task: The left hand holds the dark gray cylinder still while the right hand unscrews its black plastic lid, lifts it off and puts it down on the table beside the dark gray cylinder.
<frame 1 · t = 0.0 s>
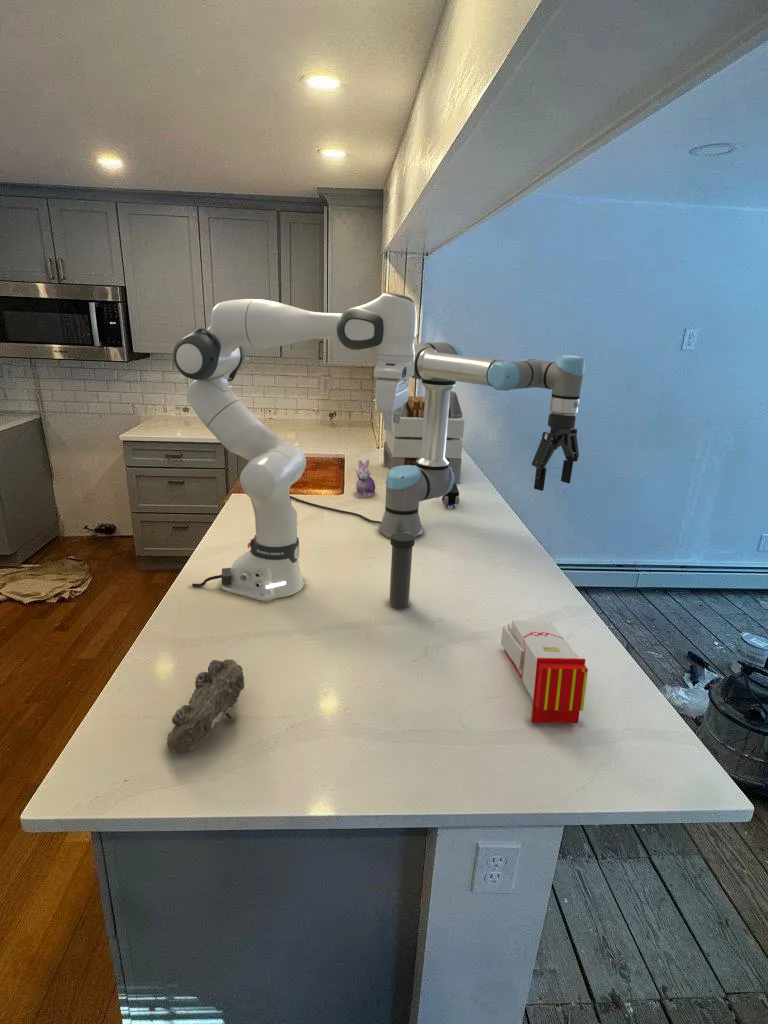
left hand: (392, 426, 137), 48 cm above the counter, tool pointing down, fingers open, 8 cm apart
right hand: (552, 485, 166), 28 cm above the counter, tool pointing down, fingers open, 13 cm apart
lid: (402, 537, 146), point 19 cm above the counter, screwed on, not yet turned
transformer: (419, 473, 275), on the counter
figurine: (365, 495, 240), on the counter
fossil: (212, 717, 108), on the counter
figurine character: (449, 504, 232), on the counter
toy: (534, 680, 123), on the counter
dark gray cylinder: (398, 604, 152), on the counter
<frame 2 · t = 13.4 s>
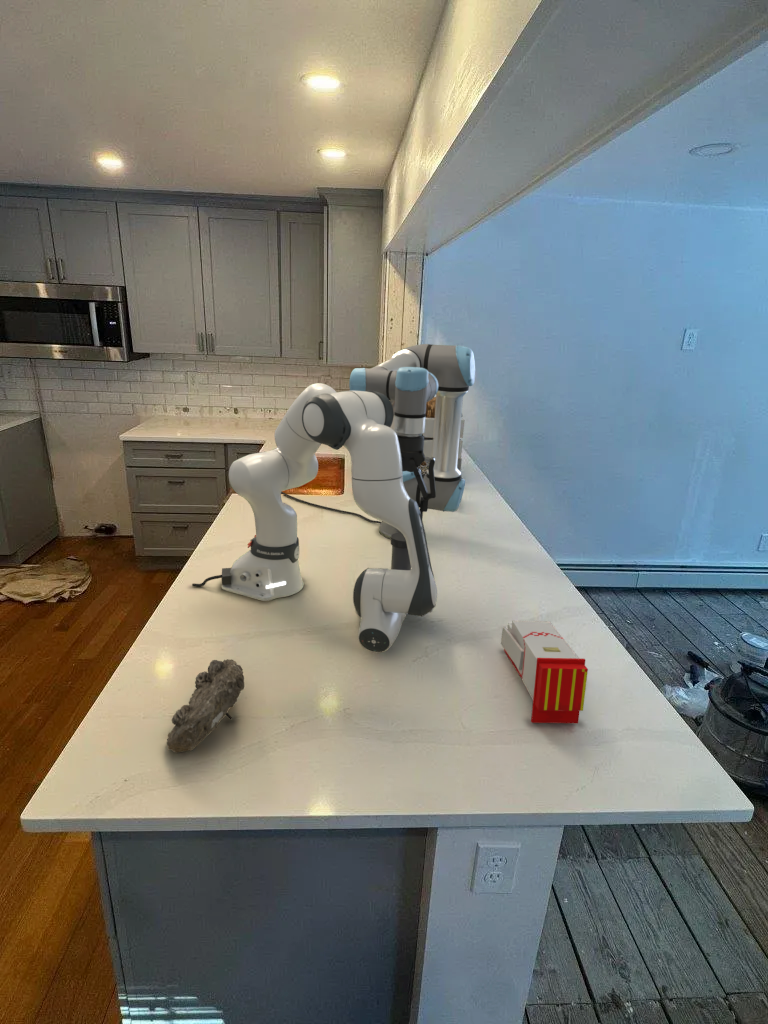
left hand: (400, 582, 151), 6 cm above the counter, tool horizontal, fingers closed on dark gray cylinder, 5 cm apart
right hand: (403, 521, 144), 24 cm above the counter, tool pointing down, fingers open, 8 cm apart
dark gray cylinder: (398, 604, 152), on the counter, touching left hand
everything else where it was.
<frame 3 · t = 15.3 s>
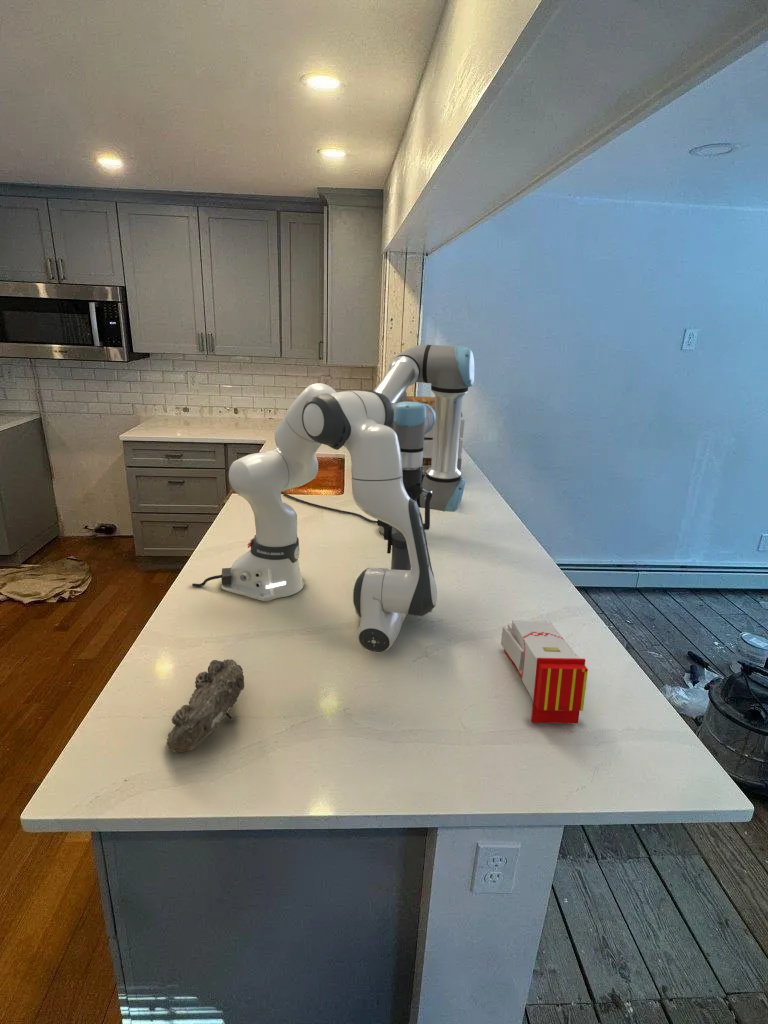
left hand: (400, 582, 151), 6 cm above the counter, tool horizontal, fingers closed on dark gray cylinder, 5 cm apart
right hand: (402, 552, 147), 15 cm above the counter, tool pointing down, fingers closed on lid, 6 cm apart
lid: (402, 537, 146), point 19 cm above the counter, screwed on, not yet turned, touching right hand
dark gray cylinder: (398, 604, 152), on the counter, touching left hand
everything else where it was.
when the right hand's fingers open (16 cm above the counter, at t = 16.9 s): lid stays where it is, point 20 cm above the counter.
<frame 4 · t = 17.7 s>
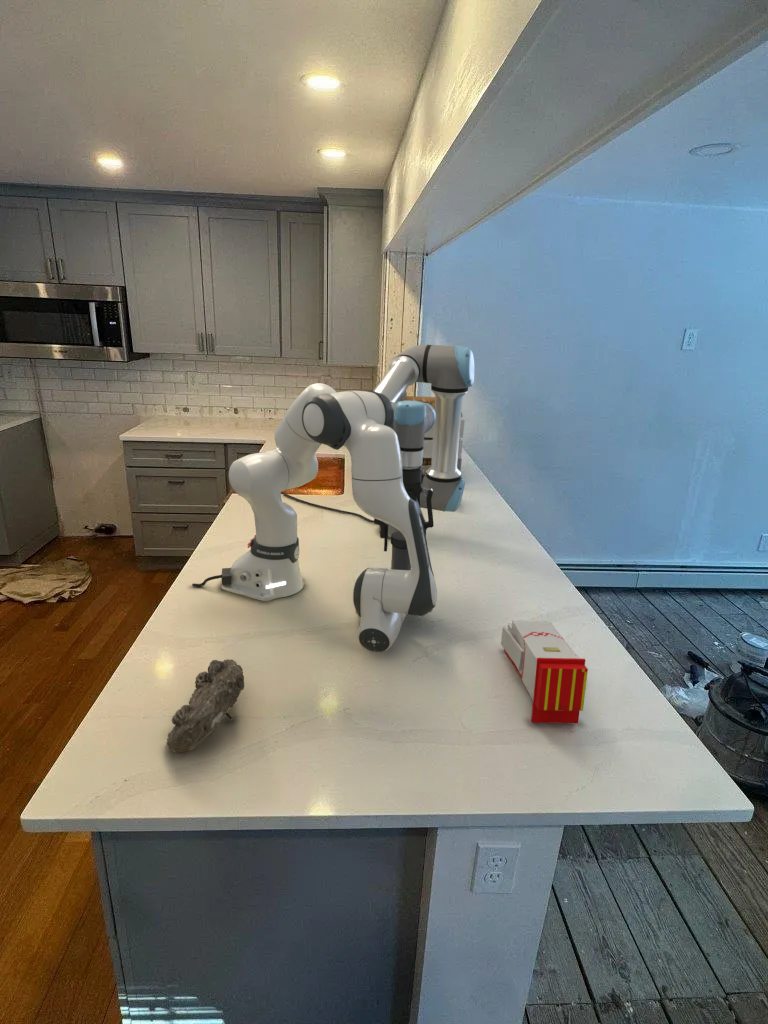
left hand: (400, 582, 151), 6 cm above the counter, tool horizontal, fingers closed on dark gray cylinder, 5 cm apart
right hand: (402, 550, 147), 16 cm above the counter, tool pointing down, fingers open, 8 cm apart
lid: (402, 537, 146), point 20 cm above the counter, turned 99° so far, risen 0.2 cm, still on its thread
dark gray cylinder: (398, 604, 152), on the counter, touching left hand
everything else where it was.
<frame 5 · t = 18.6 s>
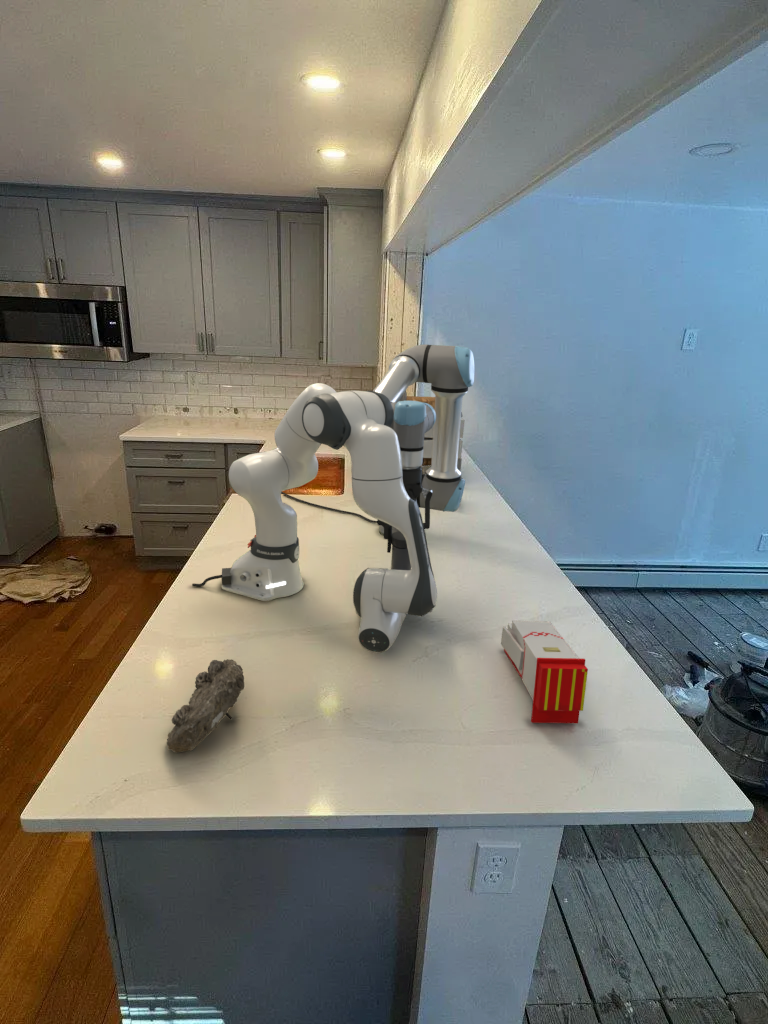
left hand: (400, 582, 151), 6 cm above the counter, tool horizontal, fingers closed on dark gray cylinder, 5 cm apart
right hand: (402, 551, 147), 16 cm above the counter, tool pointing down, fingers closed on lid, 6 cm apart
lid: (402, 537, 146), point 20 cm above the counter, turned 99° so far, risen 0.2 cm, still on its thread, touching right hand
dark gray cylinder: (398, 604, 152), on the counter, touching left hand
everything else where it was.
when the right hand's fingers open (0 cm above the counter, at t = 25.4 s): lid drops 1 cm, point 2 cm above the counter.
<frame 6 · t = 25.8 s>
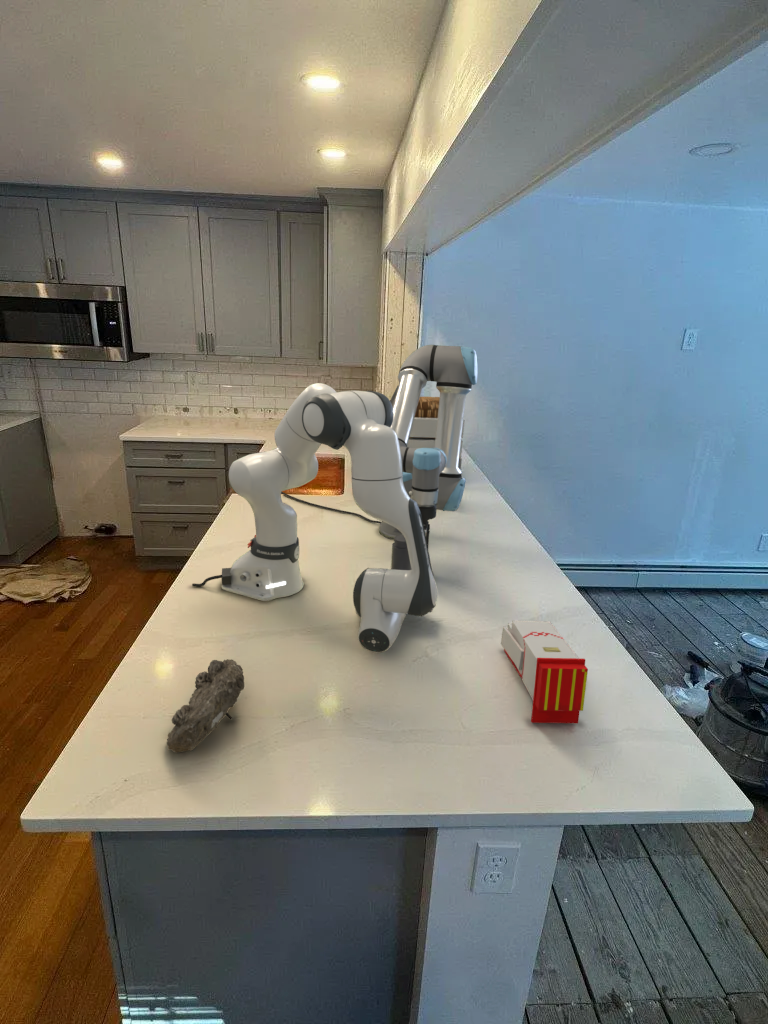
left hand: (400, 582, 151), 6 cm above the counter, tool horizontal, fingers closed on dark gray cylinder, 5 cm apart
right hand: (418, 576, 168), 0 cm above the counter, tool pointing down, fingers open, 8 cm apart
lid: (418, 570, 168), point 2 cm above the counter, off its thread
dark gray cylinder: (398, 604, 152), on the counter, touching left hand
everything else where it was.
when the left hand's fingers open (6 cm above the counter, at t = 26.6 s): dark gray cylinder stays where it is, on the counter.
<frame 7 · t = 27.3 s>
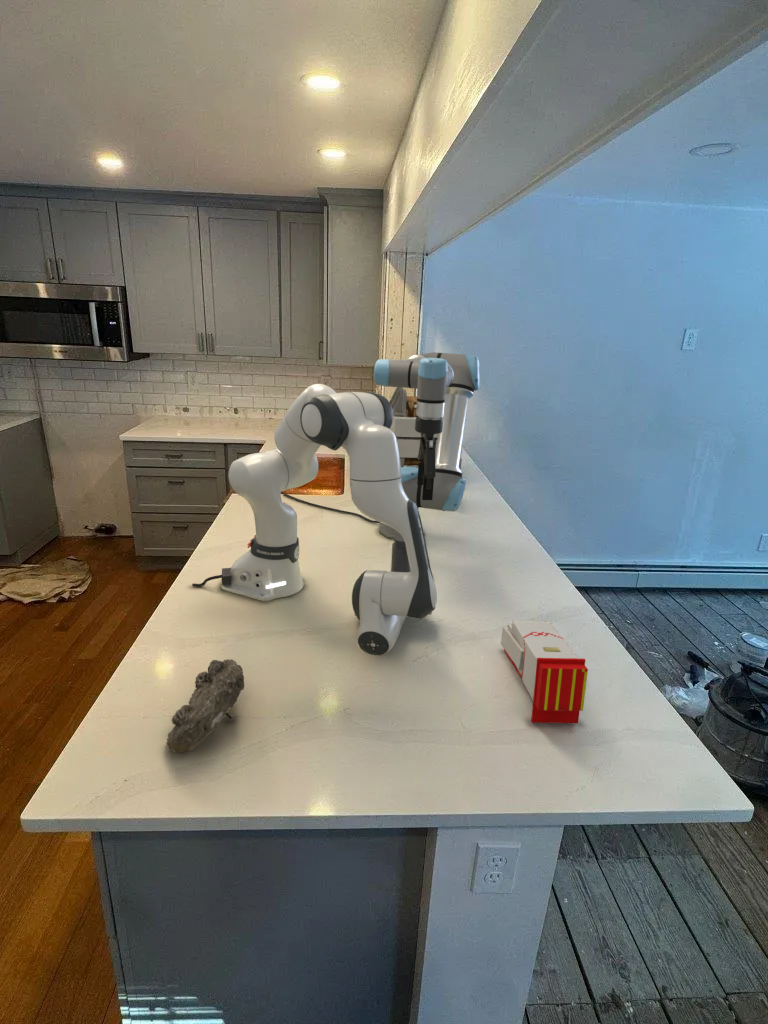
left hand: (399, 584, 150), 6 cm above the counter, tool horizontal, fingers open, 8 cm apart
right hand: (424, 492, 161), 26 cm above the counter, tool pointing down, fingers open, 13 cm apart
dark gray cylinder: (398, 604, 152), on the counter
everything else where it was.
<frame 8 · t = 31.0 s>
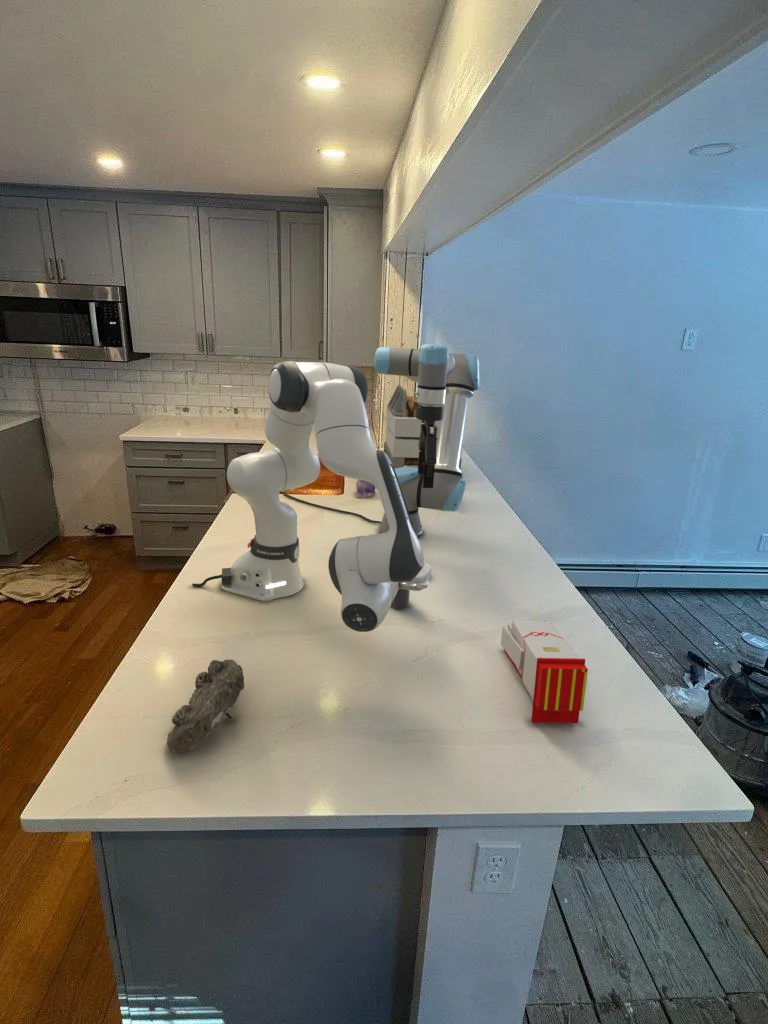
left hand: (392, 557, 135), 19 cm above the counter, tool horizontal, fingers open, 8 cm apart
right hand: (425, 480, 159), 30 cm above the counter, tool pointing down, fingers open, 13 cm apart
nothing on the counter moved.
at the end: lid came off its thread; lid point 1.7 cm above the counter; the left hand is holding nothing; the right hand is holding nothing; dark gray cylinder tilted 0°; dark gray cylinder moved 0.0 cm from its start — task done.
